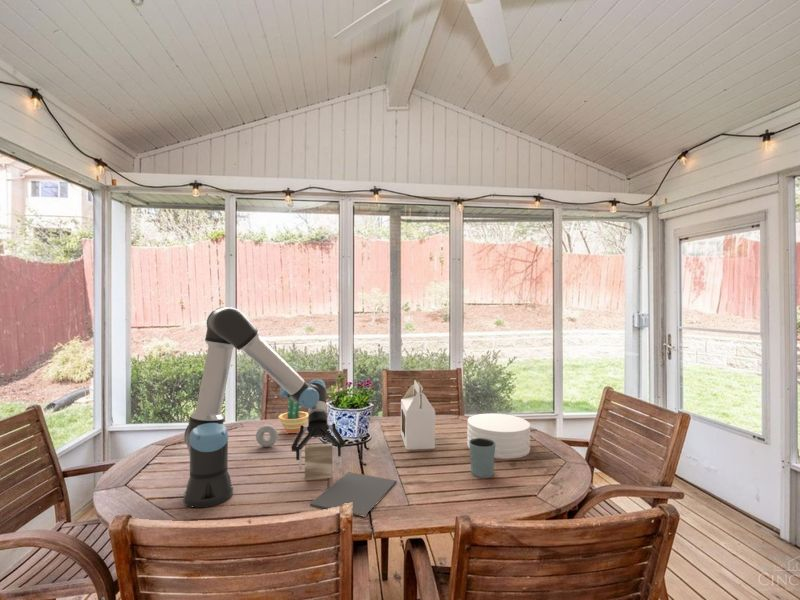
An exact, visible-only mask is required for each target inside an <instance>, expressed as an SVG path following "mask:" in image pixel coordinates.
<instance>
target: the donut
mask: <svg viewBox="0 0 800 600" xmlns="http://www.w3.org/2000/svg"><path fill="white" fill-rule="evenodd" d="M255 433H256V434H255V440H256V442H257V443H258V445H260V446H262V447H263V448H264V447H265V448H270V447H272V446H274V445H275V444H276V443H277V441H278V438H279V434H278V429H277V428H275V427H274V426H273V425H271V424H264V425H262V426H260V427H259V428H258V429H257V431H256V432H255ZM266 433H268V434H269V436H270V437H269V438H268V439H267V438H265V436H264V435H265V434H266Z"/></svg>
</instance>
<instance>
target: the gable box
mask: <svg viewBox="0 0 800 600" xmlns="http://www.w3.org/2000/svg"><path fill="white" fill-rule="evenodd" d="M424 389H425V388H424V387H423V385H422V384H421V383H420V382H419V381H417V380H416V379H414V382H413V384H412V385H410V386H409V387H408V389H407V390H406V393H405V394H404V395H403V396H402V398H401V399H400V434H401V438H402V441H403V444H404V447H405V450H407V451H412V450H435V449H436V410H435V408H434V407H433V406H432V405H433V404H431V403H430V401H429V400H428V398H427V396H426V394H424V393H423V391H424Z"/></svg>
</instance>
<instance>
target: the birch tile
mask: <svg viewBox="0 0 800 600" xmlns="http://www.w3.org/2000/svg"><path fill="white" fill-rule="evenodd" d="M322 479H333V444H332V443H331V442H330V443H329V442H328V443H316V444H305V446H304V481H312V480H322Z"/></svg>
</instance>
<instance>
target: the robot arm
mask: <svg viewBox="0 0 800 600" xmlns="http://www.w3.org/2000/svg"><path fill="white" fill-rule="evenodd" d="M206 318H207V319H206V333H205V338H204V342H205V343H206V345H207V351H206V356H205V357H206V358H205V360H204V361H205V362H204V366H203V370H202V371H203V372H202V375H201V377H202V378H201V382H200V386H199V387H200V388H199V393H198V398H197V403H196V407H195V408H196V409H195V411H193V412H192V413H191V414H190V415H189V420H188V423H187V424H188V425H187V426H186V429H185V430H184V442H185V445H186V446H187V447H186V448H187V449H188V454H189V479H188V481H187V485H186V489H185V490H184V493H183V504H184V503H185V504H186V505H188V506H193V507H204V508H207V507H206V506H210V507H213V505H214V506H217V505H219V504H220V505H221V504H222V503H224V502H226V501H227V500H229V499H231V497H232V496H233V495H234V486H233V483H232V480H231V477H230V475H229V471H228V469H229V467H228V466H229V465H228V462H229V459H228V458H229V457H228V456H229V455H228V453H229V452H228V449H229V433H228V428H227V427H226V426H225V425H224V421H225V415H224V414H223V413H222V409H223V403H224V399H225V392H226V388H227V387H226V386H227V384H228V383H227V382H228V378H229V371H230V367H231V362H232V355H233V350H234V349H236V350H238V351H243V352H244V353H245V354H246V356H248V357H249V358H250V359H251V360H252V361H254V362H255V364H256V365H258V366H259V367H260V368H261V369H262V370H263V371H264V372H265V373H266V374H267V375H268V376H269V377H270V378H272V379H273V381H275V382H276V384H278V385H279V386H280V387H279V395H280V396H281V397H282V398H285V399H287V398H290V399H292V400H294V401H296V402H297V403H299V404H300V405H301V407H302V408H306V409H307V413H308V415H309V416H308V419H307V424H308V425H307V426H301V427H300V432H299V433H297V436H296V438H295V439H294V441H293V443H292V445H291V452H296V453H295V455H296V456H295V459H296V461H298V465H299V467H298V470H302V449H303V448H305V445H307V443H308V442H309V441H310V440H311V439H312V438H314V439H316V438H323V437H324V438H325V439H327V441H329V442H330V443H332V446H334V447H335V451H334V452H335V453H334V454H335V466H336V467H339V457H341V455H342V452H341V451H342V449H341V448H344V447H345V445H346V442H345V439H344V438H343V437H342V436H341V434H340V432H339V431H338V429H337V426H336V423H332V424H328V415H327V414H328V411H327V410H328V408H327V389H326V388H327V386H326V382H325V381H323V380H322V379H318V378H317V379H312V380H310V381H309V382H307V381H306V380H305V379H304V378H303V377H302V376H301V375H300V374H299V373H298V372H297V371H296V370H295V369H294V368H293V367H292V366H291V365H290V364H289V363H288V362H287V361H286V360H285V359H284V358H283V357H282V356H281V355H280V354H279V353H278V352H277V351H276V350H274V349H273V347H271V345H270V344H269V343H267V342H266V340H265V339H263V337H262V336H260V331H259V330H258V328H257V327H256V326H255V325H254V324H253V323H252V322H251V321H250V320H249V319H248V317H247V316H246V314H244V313H243V312H242V311H241V310H240V309H238V308H235V307H229V306H221V307H217V308H215V309H214V310H213V311H211V312H210V313H209V315H208V316H207V317H206ZM329 430H330V431H332V433H333V435H334V437H336V438H334V437H333V436H332V435H331V433H330V432H329ZM305 432H308V433H307V435H306V436H305V437H304V438H303V439H302V437H303V435H304V434H305ZM301 439H302V440H301ZM300 441H301V442H300ZM185 504H184V505H185ZM186 505H185V506H186ZM188 506H187V507H188Z"/></svg>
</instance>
